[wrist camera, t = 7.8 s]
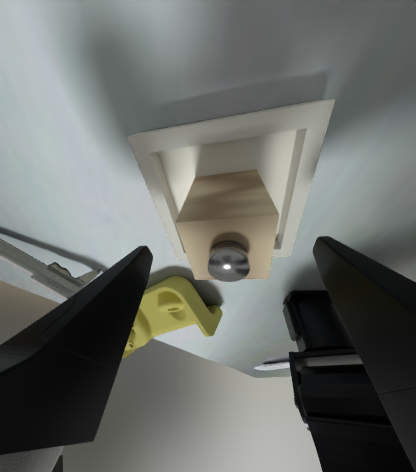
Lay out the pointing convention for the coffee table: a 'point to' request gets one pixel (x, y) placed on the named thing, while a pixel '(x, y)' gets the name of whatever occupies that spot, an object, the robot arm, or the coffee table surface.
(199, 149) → the housing tray
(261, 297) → the coffee table surface
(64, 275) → the caliper
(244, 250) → the block
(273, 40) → the coffee table surface
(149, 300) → the plastic component
